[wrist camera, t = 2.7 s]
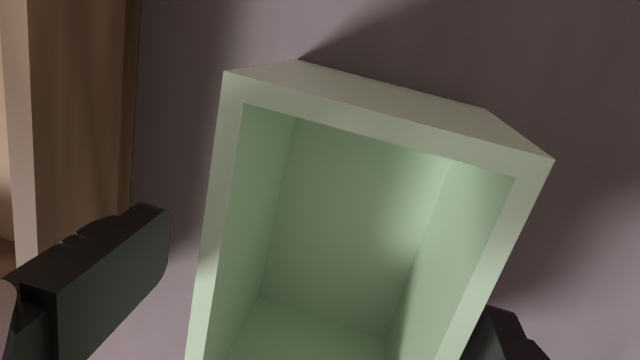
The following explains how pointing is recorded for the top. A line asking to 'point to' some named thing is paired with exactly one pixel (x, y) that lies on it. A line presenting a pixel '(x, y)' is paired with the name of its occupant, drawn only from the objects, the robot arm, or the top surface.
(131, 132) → the big crate
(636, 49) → the top surface
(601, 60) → the top surface
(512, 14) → the top surface
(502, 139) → the small crate
